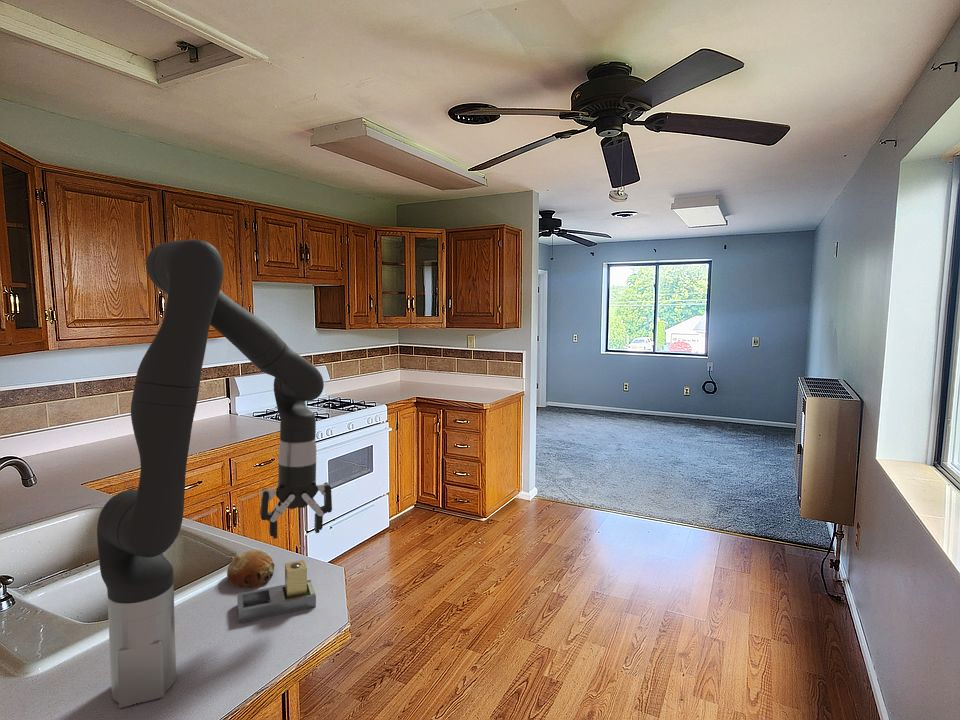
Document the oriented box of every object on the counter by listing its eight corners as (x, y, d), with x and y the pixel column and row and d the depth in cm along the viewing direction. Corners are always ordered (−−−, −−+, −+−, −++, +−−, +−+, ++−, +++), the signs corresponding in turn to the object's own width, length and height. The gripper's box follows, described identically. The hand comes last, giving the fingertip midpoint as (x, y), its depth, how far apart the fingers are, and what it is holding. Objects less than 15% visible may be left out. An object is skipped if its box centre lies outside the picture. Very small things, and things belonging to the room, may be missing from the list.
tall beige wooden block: (306, 603, 116) (307, 567, 115) (287, 607, 114) (287, 571, 113) (304, 594, 119) (304, 559, 118) (284, 597, 118) (284, 562, 117)
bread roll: (265, 579, 132) (257, 546, 134) (285, 575, 126) (277, 541, 127) (224, 595, 125) (217, 560, 126) (244, 592, 118) (236, 555, 120)
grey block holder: (315, 606, 115) (315, 595, 115) (239, 623, 109) (238, 611, 108) (310, 590, 121) (310, 579, 121) (237, 604, 115) (237, 593, 114)
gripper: (262, 468, 107) (261, 547, 108) (335, 462, 113) (333, 536, 115) (259, 457, 113) (258, 532, 115) (328, 452, 120) (327, 523, 121)
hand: (296, 534), depth 115 cm, fingers open, 8 cm apart
